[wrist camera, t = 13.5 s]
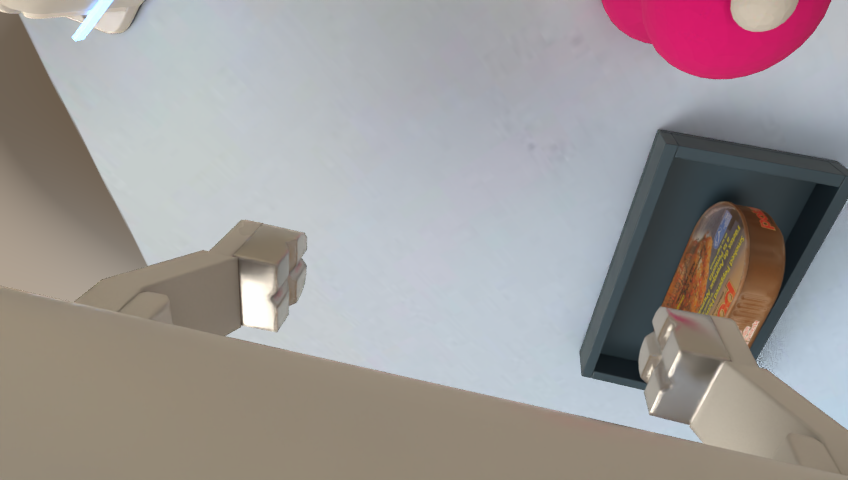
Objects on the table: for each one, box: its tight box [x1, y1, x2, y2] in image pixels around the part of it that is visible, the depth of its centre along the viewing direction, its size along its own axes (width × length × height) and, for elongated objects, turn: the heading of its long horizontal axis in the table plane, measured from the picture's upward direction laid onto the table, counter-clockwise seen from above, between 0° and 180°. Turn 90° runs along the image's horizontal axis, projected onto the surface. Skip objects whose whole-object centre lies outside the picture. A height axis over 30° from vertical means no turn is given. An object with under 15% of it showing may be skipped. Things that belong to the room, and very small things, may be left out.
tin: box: [654, 201, 785, 349], centre depth 38 cm, size 15×3×8 cm, turn 172°
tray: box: [580, 130, 848, 390], centre depth 41 cm, size 12×20×3 cm, turn 172°
